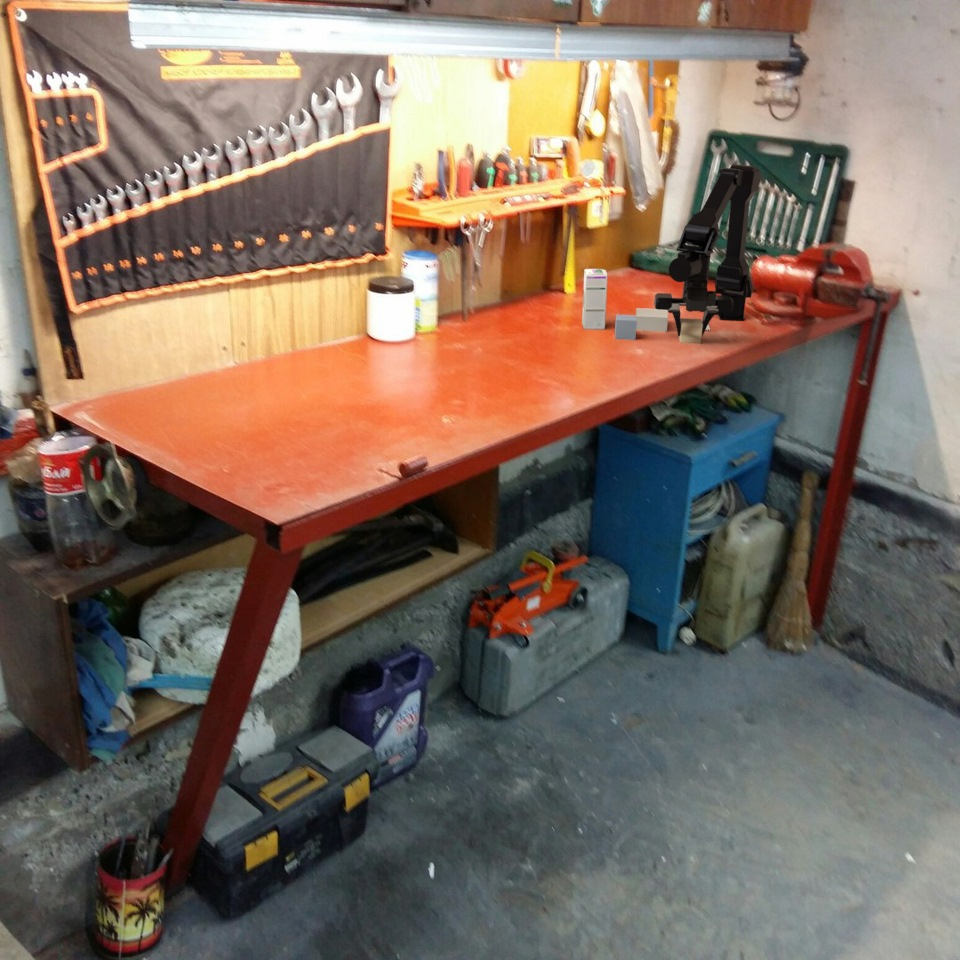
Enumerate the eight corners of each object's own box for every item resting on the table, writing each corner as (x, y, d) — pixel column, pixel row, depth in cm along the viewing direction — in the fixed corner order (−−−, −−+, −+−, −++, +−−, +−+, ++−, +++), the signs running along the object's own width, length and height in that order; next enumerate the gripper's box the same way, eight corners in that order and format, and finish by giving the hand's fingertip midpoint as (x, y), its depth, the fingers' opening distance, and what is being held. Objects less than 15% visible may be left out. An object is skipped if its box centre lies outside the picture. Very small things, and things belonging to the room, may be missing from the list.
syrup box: (605, 329, 253) (609, 273, 247) (582, 329, 253) (585, 273, 247) (603, 323, 258) (606, 268, 252) (580, 323, 258) (583, 268, 252)
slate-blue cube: (634, 334, 250) (636, 315, 248) (635, 340, 246) (636, 320, 243) (614, 333, 250) (616, 314, 248) (615, 339, 246) (616, 320, 244)
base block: (665, 324, 260) (667, 309, 258) (666, 332, 252) (668, 317, 251) (635, 322, 261) (636, 307, 259) (635, 331, 253) (636, 316, 252)
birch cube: (698, 338, 248) (700, 318, 246) (700, 344, 243) (702, 324, 241) (678, 337, 248) (680, 318, 246) (680, 343, 244) (682, 323, 242)
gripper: (659, 280, 232) (654, 344, 239) (740, 283, 230) (732, 347, 237) (656, 269, 242) (651, 331, 249) (733, 272, 241) (726, 334, 247)
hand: (689, 336), depth 245 cm, fingers closed on birch cube, 5 cm apart
